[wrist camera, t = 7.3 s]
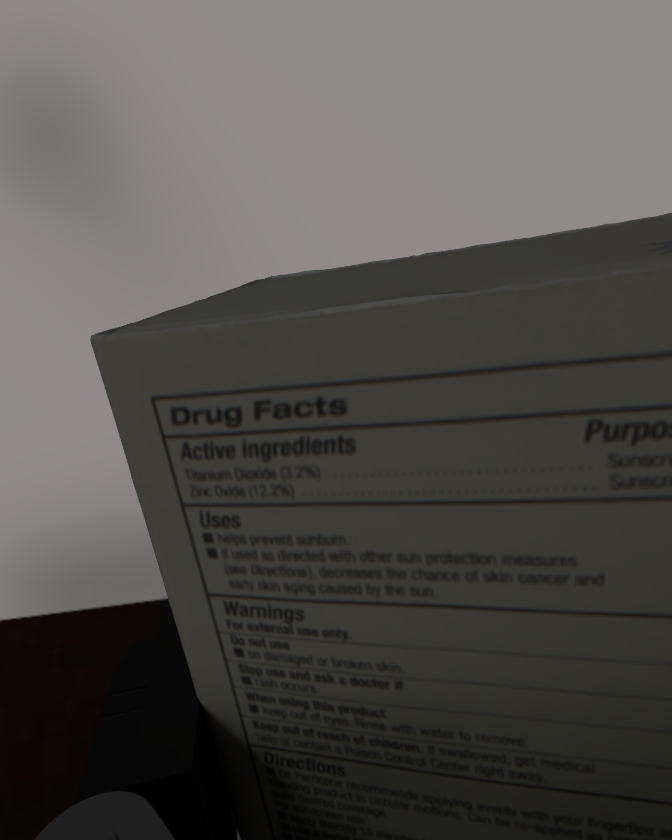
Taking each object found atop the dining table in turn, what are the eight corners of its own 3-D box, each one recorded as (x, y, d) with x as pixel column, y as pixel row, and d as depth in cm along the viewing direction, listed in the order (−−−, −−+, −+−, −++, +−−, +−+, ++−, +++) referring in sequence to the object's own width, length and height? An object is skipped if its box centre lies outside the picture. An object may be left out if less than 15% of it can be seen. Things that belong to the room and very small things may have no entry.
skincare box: (711, 918, 11) (727, 202, 8) (786, 1311, 7) (890, 221, 4) (371, 848, 14) (265, 268, 10) (291, 1120, 10) (69, 322, 6)
